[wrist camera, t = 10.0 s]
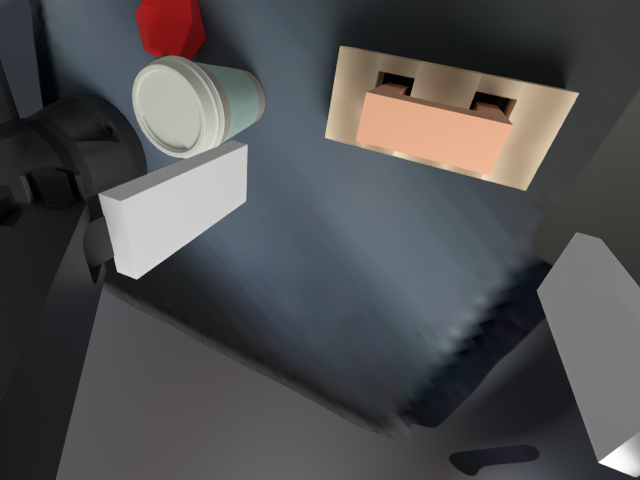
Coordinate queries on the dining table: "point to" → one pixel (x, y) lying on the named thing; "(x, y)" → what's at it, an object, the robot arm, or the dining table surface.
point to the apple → (170, 27)
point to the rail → (456, 90)
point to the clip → (433, 128)
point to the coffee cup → (194, 104)
